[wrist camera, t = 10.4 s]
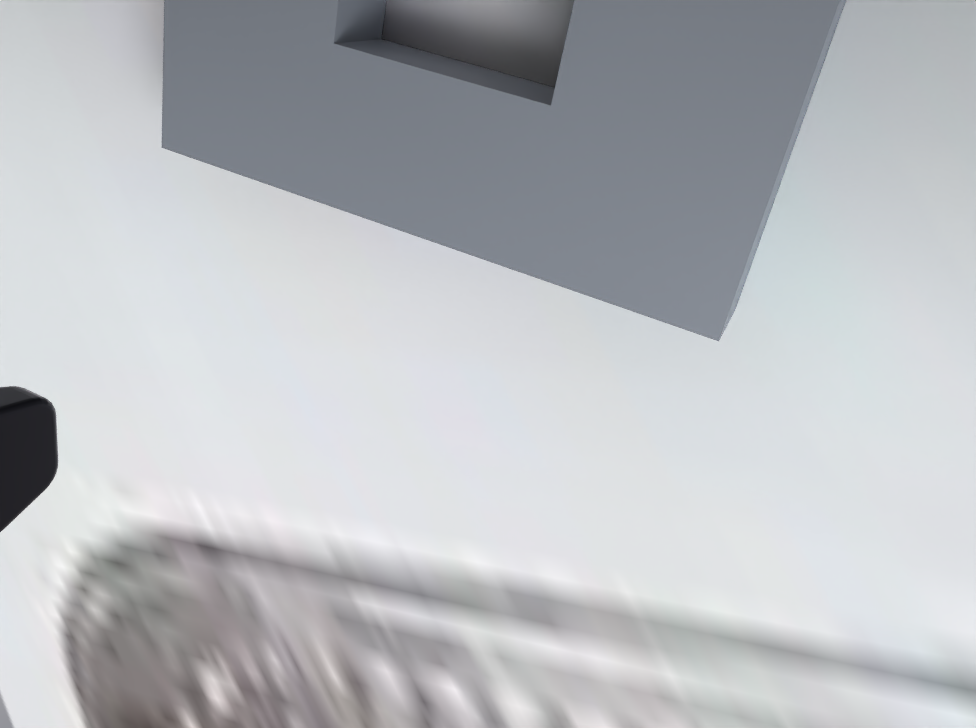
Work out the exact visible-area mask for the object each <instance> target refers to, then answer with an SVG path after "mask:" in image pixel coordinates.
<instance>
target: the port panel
mask: <svg viewBox="0 0 976 728" xmlns="http://www.w3.org/2000/svg"><path fill="white" fill-rule="evenodd" d="M845 2H846V0H574V4H573V9H572V13H571V18H570V22H569V27H568V31H567V36H566V40H565V45H564V49H563V54H562V58H561V63H560V67H559V71H558V76H557V80H556V85H555V87H551V86H547V85H544V84H540V83H537V82H533V81H529V80H526V79H522V78H519V77H515V76H512V75H508V74H504V73H501V72H497V71H494V70H490V69H487V68H483V67H479V66H476V65H472V64H469V63H465V62H461V61H458V60H454V59H451V58H447V57H444V56H440V55H436V54H433V53H429V52H426V51H422V50H418V49H415V48H411V47H408V46H404V45H401V44H397V43H393V42H390V41H386V40H383V39H381V38H382V30H383V23H384V15H385V7H386V0H164V51H163V105H162V148H165V149H167V150H170V151H173V152H176V153H179V154H182V155H185V156H188V157H190V158H193V159H196V160H199V161H202V162H205V163H208V164H211V165H213V166H216V167H219V168H222V169H225V170H228V171H231V172H234V173H236V174H239V175H242V176H245V177H248V178H251V179H254V180H257V181H259V182H262V183H265V184H268V185H271V186H274V187H277V188H280V189H283V190H285V191H288V192H291V193H294V194H297V195H300V196H303V197H306V198H308V199H311V200H314V201H317V202H320V203H323V204H326V205H329V206H331V207H334V208H337V209H340V210H343V211H346V212H349V213H352V214H354V215H357V216H360V217H363V218H366V219H369V220H372V221H375V222H377V223H380V224H383V225H386V226H389V227H392V228H395V229H398V230H400V231H403V232H406V233H409V234H412V235H415V236H418V237H421V238H423V239H426V240H429V241H432V242H435V243H438V244H441V245H444V246H446V247H449V248H452V249H455V250H458V251H461V252H464V253H467V254H469V255H472V256H475V257H478V258H481V259H484V260H487V261H490V262H492V263H495V264H498V265H501V266H504V267H507V268H510V269H513V270H515V271H518V272H521V273H524V274H527V275H530V276H533V277H536V278H538V279H541V280H544V281H547V282H550V283H553V284H556V285H559V286H561V287H564V288H567V289H570V290H573V291H576V292H579V293H582V294H584V295H587V296H590V297H593V298H596V299H599V300H602V301H605V302H607V303H610V304H613V305H616V306H619V307H622V308H625V309H628V310H630V311H633V312H636V313H639V314H642V315H645V316H648V317H651V318H653V319H656V320H659V321H662V322H665V323H668V324H671V325H674V326H676V327H679V328H682V329H685V330H688V331H691V332H694V333H697V334H699V335H702V336H705V337H708V338H711V339H714V340H717V341H719V340H720V338H721V336H722V334H723V332H724V330H725V328H726V326H727V324H728V322H729V321H730V319H731V317H732V315H733V313H734V311H735V309H736V306H737V303H738V300H739V297H740V295H741V292H742V289H743V286H744V283H745V281H746V278H747V275H748V272H749V270H750V267H751V264H752V261H753V258H754V256H755V253H756V250H757V247H758V244H759V242H760V239H761V236H762V233H763V230H764V228H765V225H766V222H767V219H768V216H769V214H770V211H771V208H772V205H773V203H774V200H775V197H776V194H777V191H778V189H779V186H780V183H781V180H782V177H783V175H784V172H785V169H786V166H787V163H788V161H789V158H790V155H791V152H792V149H793V147H794V144H795V141H796V138H797V136H798V133H799V130H800V127H801V124H802V122H803V119H804V116H805V113H806V110H807V108H808V105H809V102H810V99H811V96H812V94H813V91H814V88H815V85H816V82H817V80H818V77H819V74H820V71H821V69H822V66H823V63H824V60H825V57H826V55H827V52H828V49H829V46H830V43H831V41H832V38H833V35H834V32H835V29H836V27H837V24H838V21H839V18H840V15H841V13H842V10H843V7H844V4H845Z"/></svg>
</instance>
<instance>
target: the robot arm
mask: <svg viewBox="0 0 976 728" xmlns="http://www.w3.org/2000/svg"><path fill="white" fill-rule="evenodd" d="M57 468H58V447H57V425H56V412H55V408H54V406H53V405H52V403H51V402H50V401H49V400H48V399H46V398H44V397H42V396H40V395H37V394H35V393H33V392H31V391H29V390H27V389H25V388H21V387H16V386H10V387H0V532H1V531H2V530H3V529H4V528H5V527H6V526H7V525H9V524H10V523H11V522H12V521H13V520H14V519H15V518H16V517H17V516H18V515H19V514H20V513H21V512H22V511H23V510H24V509H25V508H26V507H27V506H28V505H30V504H31V503H32V502H33V501H34V500H35V499H36V498H37V497H38V496H39V495H40V494H41V493H42V492H43V491H44V490H45V489H46V488H47V487H48V486H49V485H50V483H51V482H52V480H53V479H54V477H55V474H56V472H57Z"/></svg>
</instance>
